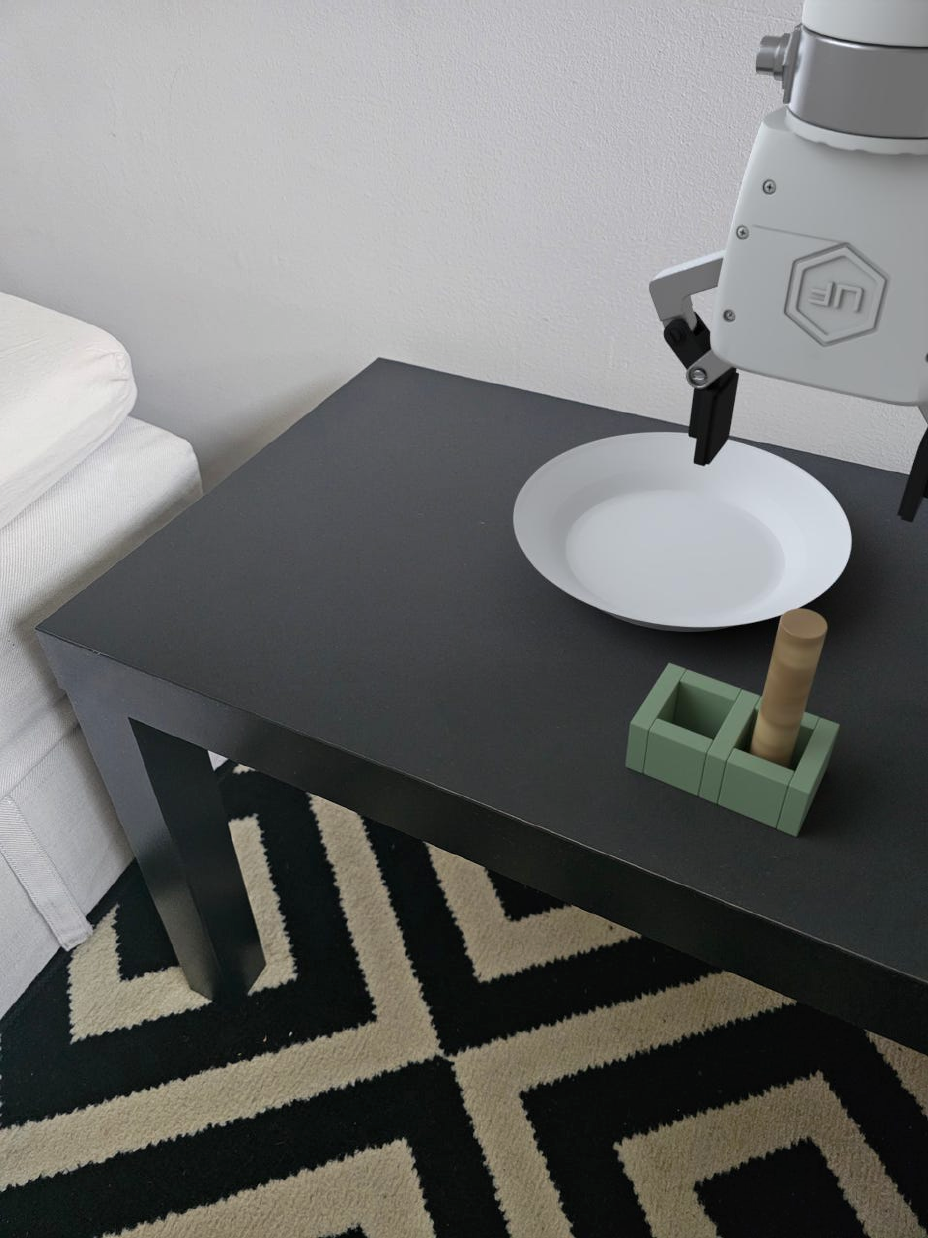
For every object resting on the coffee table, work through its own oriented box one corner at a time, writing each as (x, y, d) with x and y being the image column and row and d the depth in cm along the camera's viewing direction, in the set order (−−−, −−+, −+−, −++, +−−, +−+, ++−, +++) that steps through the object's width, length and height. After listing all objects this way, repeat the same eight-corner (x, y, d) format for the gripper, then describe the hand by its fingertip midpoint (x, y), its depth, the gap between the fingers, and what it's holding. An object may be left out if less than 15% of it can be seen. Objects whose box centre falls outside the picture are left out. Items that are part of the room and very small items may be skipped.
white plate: (882, 523, 81) (894, 485, 78) (769, 716, 65) (779, 676, 63) (604, 440, 92) (607, 405, 89) (451, 589, 76) (449, 551, 74)
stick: (788, 777, 62) (833, 617, 53) (776, 804, 60) (820, 643, 51) (750, 762, 63) (788, 602, 54) (737, 788, 61) (774, 628, 52)
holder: (826, 768, 62) (840, 724, 59) (796, 837, 58) (810, 793, 56) (662, 706, 66) (669, 662, 64) (625, 766, 63) (629, 722, 60)
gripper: (636, 83, 38) (608, 469, 49) (1157, 140, 31) (985, 576, 42) (708, 41, 43) (667, 402, 54) (1174, 82, 36) (1015, 487, 47)
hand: (807, 478), depth 48 cm, fingers open, 9 cm apart
